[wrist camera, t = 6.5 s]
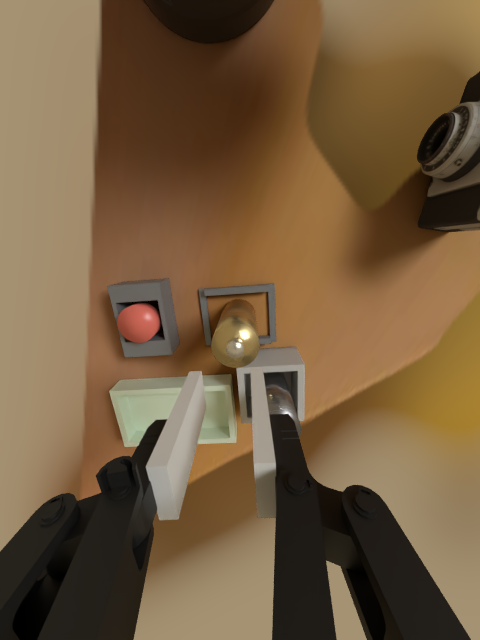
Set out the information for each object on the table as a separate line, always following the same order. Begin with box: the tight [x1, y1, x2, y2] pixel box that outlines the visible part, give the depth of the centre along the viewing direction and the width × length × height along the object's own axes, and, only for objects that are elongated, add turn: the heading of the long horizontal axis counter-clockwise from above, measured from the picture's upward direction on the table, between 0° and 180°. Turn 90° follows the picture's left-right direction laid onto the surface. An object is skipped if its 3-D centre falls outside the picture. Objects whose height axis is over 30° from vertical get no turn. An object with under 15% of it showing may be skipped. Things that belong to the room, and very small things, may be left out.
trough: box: [109, 374, 237, 447], centre depth 33 cm, size 10×17×3 cm, turn 94°
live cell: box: [211, 299, 260, 368], centre depth 25 cm, size 4×4×11 cm
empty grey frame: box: [199, 284, 276, 346], centre depth 30 cm, size 8×10×1 cm
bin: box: [237, 347, 305, 423], centre depth 30 cm, size 8×8×5 cm
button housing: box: [107, 278, 180, 357], centre depth 29 cm, size 9×7×4 cm
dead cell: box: [263, 372, 301, 436], centre depth 27 cm, size 4×4×11 cm
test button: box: [117, 302, 162, 343], centre depth 27 cm, size 4×4×2 cm
